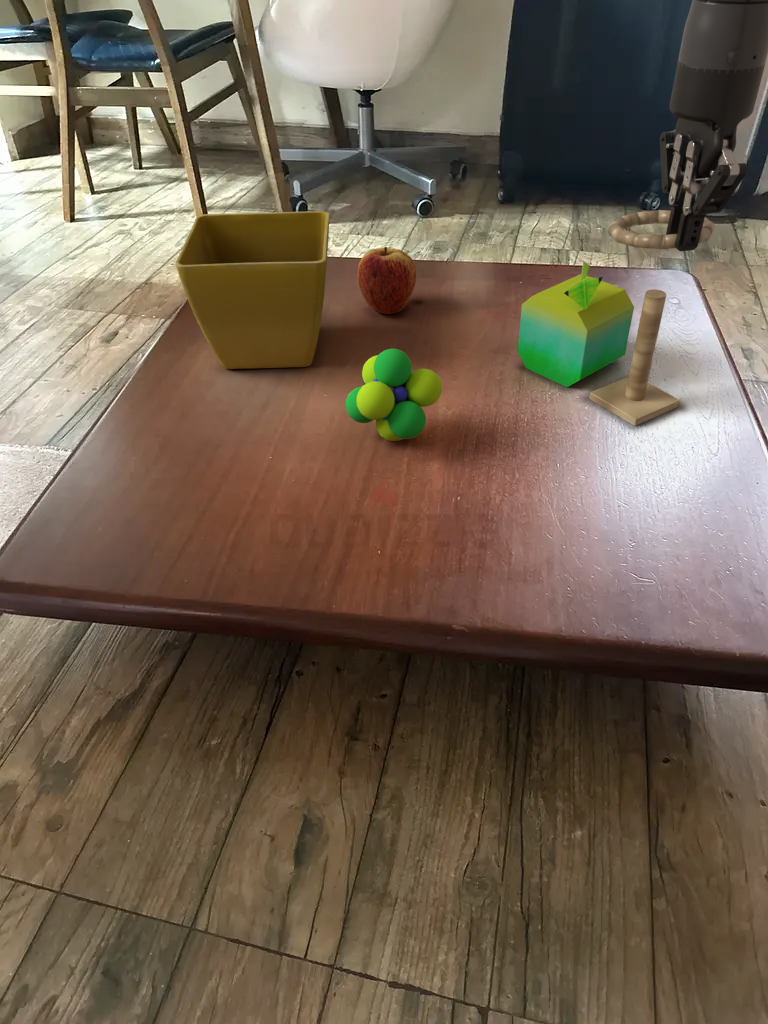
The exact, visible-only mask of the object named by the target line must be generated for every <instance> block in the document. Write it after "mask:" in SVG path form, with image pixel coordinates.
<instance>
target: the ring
mask: <svg viewBox="0 0 768 1024" xmlns="http://www.w3.org/2000/svg"><path fill="white" fill-rule="evenodd" d="M670 212H671V210H664V209H657V210H646V211H645V210H644V211H637V212H632V213H628V214H625V215H621V216H619V217H616V218H615V219H614V220H613V221H612V223H610V225H608V227H607V234H608V235H609V236H610V237H611V238H612V239H613V240H614V241H615V242H616V243H618V244H621V245H625V246H629V247H633V248H635V249H636V248H637V249H650V250H651V249H653V250H670V249H676V248H675V242H676V237H677V234H670V235H666V234H651V233H650V234H649V233H638V232H634V231H630V230H628V228H632V227H635V226H643V225H644V226H645V225H654V224H661V225H663V224H666V225H668V222H669V217H670ZM626 229H627V230H626ZM715 229H716V225H715V222H713V221H712V220H711V219H709V218H707V217H706V216H705V219H704V223H703V227H702V231H701V235H700V240H699V243H698V244H701V243H704V242H707V241H709V240H710V238H711V237H712V235H713V233H714V232H715Z"/></svg>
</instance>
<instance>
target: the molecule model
mask: <svg viewBox="0 0 768 1024" xmlns="http://www.w3.org/2000/svg"><path fill="white" fill-rule="evenodd" d="M412 369H413V367H412V362H411V359H410V358H409V355H408V354H407V353H406V352H404V351H402V350H401V349H398V348H388V349H385V350H383V351H381V352H379V354H377V355H374V356H373V355H372V356H371V357H370V358H368V359H367V360H366V361H365V363H364V364H363V367H362V371H361V376H362V380H363V382H364V385H362V386H357V387H355V388H354V389H352V390H351V391H350V392H349V393H348V394H347V395H346V396H347V397H346V399H345V410H346V413H347V415H348V416H349V417H350V419H352V420H353V421H354V422H356V423H359V424H368V423H372V422H373V421H375V427H376V430H377V433H378V434H379V435H380V436H381V438H383V439H384V440H387V441H390V442H399V441H401V440H410V439H413V438H416V437H417V436H419V435H420V434H422V432H423V430H424V429H425V426H426V414H425V411H424V409H423V408H422V407H429V406H432V405H433V404H435V403H436V402H437V401H438V400H439V399H440V398H441V394H442V392H443V383H442V379H441V378H440V375H438V374H437V373H436V372H435V371H433V370H432V369H428V368H417V369H416V370H414V371H413V372H412Z"/></svg>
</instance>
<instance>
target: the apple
mask: <svg viewBox="0 0 768 1024" xmlns="http://www.w3.org/2000/svg"><path fill="white" fill-rule="evenodd" d="M416 281H417V269H416V265H415V262H414V260H413V258H412V257H411V256H410V255H409V254H408V253H406V252H405V251H403V250H402V249H399V248H393V247H387V246H384V247H378V248H374V249H370V250H368V251H367V252H366V253H365V254H364V255H363V256H362V257H361V259H360V260H359V263H358V266H357V285H358V288H359V290H360V293H361V295H362V297H363V298H364V300H365V301H366V303H367V305H368V306H370V308H371V309H373V310H374V311H376V312H378V313H381V314H386V315H394V314H397V313H399V312H401V311H402V310H404V309H405V307H406V306H407V305H408V304H409V301H410V299H411V297H412V295H413V292H414V289H415V286H416Z"/></svg>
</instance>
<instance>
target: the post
mask: <svg viewBox="0 0 768 1024" xmlns="http://www.w3.org/2000/svg"><path fill="white" fill-rule="evenodd" d="M666 299H667V293H666V291H663V290H661V289H654V288H653V289H648V290H646V291H645V292H644V297H643V303H642V307H641V313H640V318H639V323H638V328H637V333H636V338H635V343H634V348H633V352H632V358H631V363H630V367H629V372H628V376H626V377H624V378H622V379H619V380H617V381H614V382H612V383H609V384H607V385H605V386H602V387H599V388H598V389H595V390H592V391H590V392H589V395H588V397H589V398H588V399H589V400H591V401H592V402H594V403H596V404H597V405H599V406H600V407H602V408H604V409H605V410H607V411H608V412H610V413H612V414H613V415H615V416H617V417H618V418H620V419H622V420H624V421H625V422H627V423H628V424H630V425H632V426H633V427H636V426H638V425H641V424H642V423H645V422H647V421H649V420H653V418H657V417H658V416H660V415H661V416H662V415H663V414H665V413H667V412H669V411H672V410H675V409H676V408H678V407H680V403H681V399H679V398H677V397H675V396H673V395H671V394H670V393H669V392H666V391H664V390H662V389H661V388H659V387H657V386H656V385H653V384H652V383H650V382H649V378H650V373H651V368H652V364H653V359H654V354H655V350H656V346H657V340H658V337H659V331H660V327H661V322H662V317H663V312H664V309H665V305H666Z"/></svg>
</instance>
